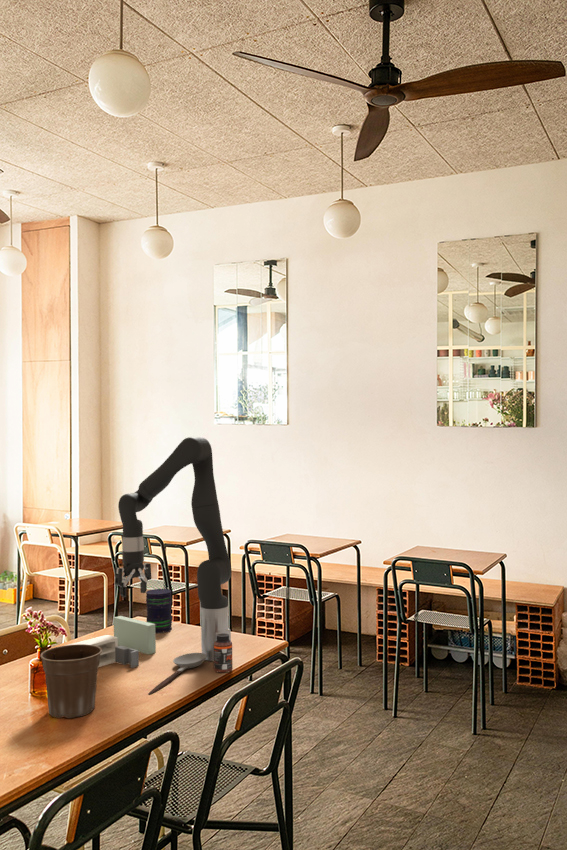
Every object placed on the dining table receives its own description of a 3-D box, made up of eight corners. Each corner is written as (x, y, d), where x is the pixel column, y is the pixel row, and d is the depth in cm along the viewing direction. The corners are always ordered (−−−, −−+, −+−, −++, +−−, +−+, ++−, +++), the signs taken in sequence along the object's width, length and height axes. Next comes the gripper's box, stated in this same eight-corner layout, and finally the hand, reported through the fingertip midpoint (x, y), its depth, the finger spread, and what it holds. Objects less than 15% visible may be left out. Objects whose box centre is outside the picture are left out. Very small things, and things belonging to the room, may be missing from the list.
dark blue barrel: (170, 632, 280) (169, 593, 280) (144, 633, 280) (143, 594, 280) (173, 626, 290) (173, 588, 290) (148, 626, 290) (148, 589, 290)
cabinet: (138, 665, 239) (138, 641, 240) (79, 684, 222) (78, 657, 222) (110, 657, 250) (110, 633, 250) (51, 674, 232) (50, 649, 233)
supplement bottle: (229, 673, 230) (229, 637, 230) (211, 672, 231) (210, 636, 231) (234, 667, 235) (234, 632, 236) (217, 667, 237) (216, 631, 237)
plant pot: (80, 696, 212) (79, 640, 212) (114, 708, 202) (114, 649, 202) (29, 713, 199) (28, 653, 200) (63, 727, 189) (62, 664, 189)
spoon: (213, 661, 241) (212, 652, 241) (166, 700, 210) (165, 690, 210) (183, 661, 245) (182, 652, 245) (133, 700, 214) (131, 689, 214)
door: (123, 642, 268) (123, 615, 268) (158, 652, 255) (157, 623, 255) (114, 645, 265) (113, 617, 265) (148, 654, 252) (148, 625, 252)
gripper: (123, 552, 253) (123, 599, 252) (155, 547, 263) (156, 592, 263) (110, 550, 257) (110, 597, 257) (142, 545, 268) (143, 590, 268)
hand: (133, 594), depth 260 cm, fingers open, 8 cm apart
